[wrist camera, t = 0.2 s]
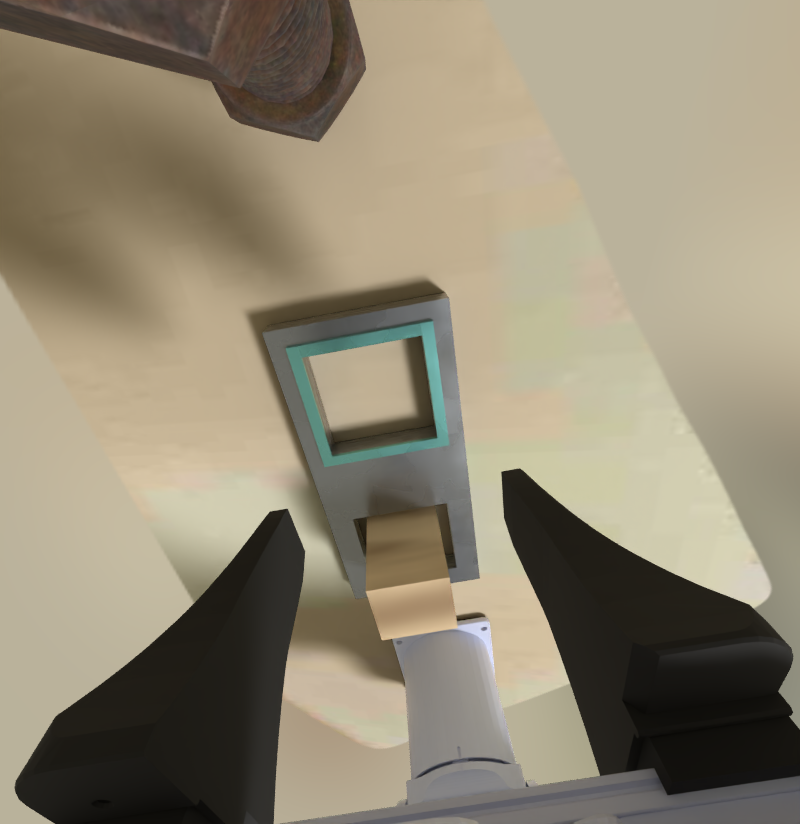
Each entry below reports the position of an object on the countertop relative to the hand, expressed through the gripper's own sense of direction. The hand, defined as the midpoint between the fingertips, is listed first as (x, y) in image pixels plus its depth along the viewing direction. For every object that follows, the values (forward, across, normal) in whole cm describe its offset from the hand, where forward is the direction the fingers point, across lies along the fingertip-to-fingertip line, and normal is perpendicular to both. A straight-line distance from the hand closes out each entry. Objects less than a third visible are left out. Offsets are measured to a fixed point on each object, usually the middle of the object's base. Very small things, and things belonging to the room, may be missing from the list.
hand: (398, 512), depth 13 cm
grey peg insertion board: (+10, +1, +5) cm, 11 cm away
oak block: (+10, +1, +11) cm, 15 cm away
